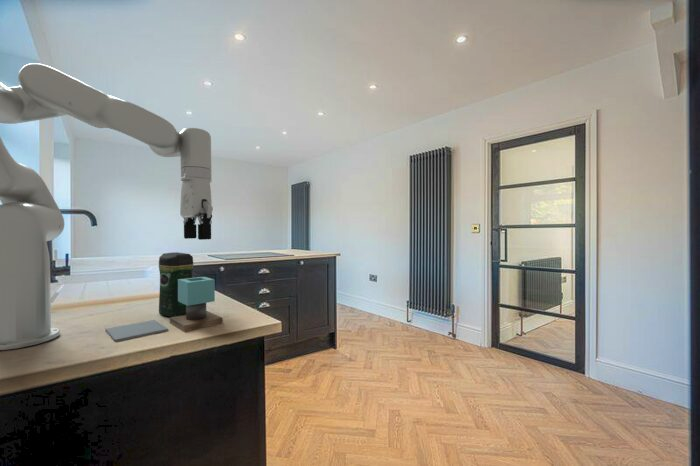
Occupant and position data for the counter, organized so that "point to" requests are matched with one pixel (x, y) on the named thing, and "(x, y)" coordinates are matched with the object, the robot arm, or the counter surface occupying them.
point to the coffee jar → (173, 281)
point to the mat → (135, 330)
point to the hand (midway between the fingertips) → (197, 238)
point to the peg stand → (195, 318)
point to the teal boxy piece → (196, 290)
